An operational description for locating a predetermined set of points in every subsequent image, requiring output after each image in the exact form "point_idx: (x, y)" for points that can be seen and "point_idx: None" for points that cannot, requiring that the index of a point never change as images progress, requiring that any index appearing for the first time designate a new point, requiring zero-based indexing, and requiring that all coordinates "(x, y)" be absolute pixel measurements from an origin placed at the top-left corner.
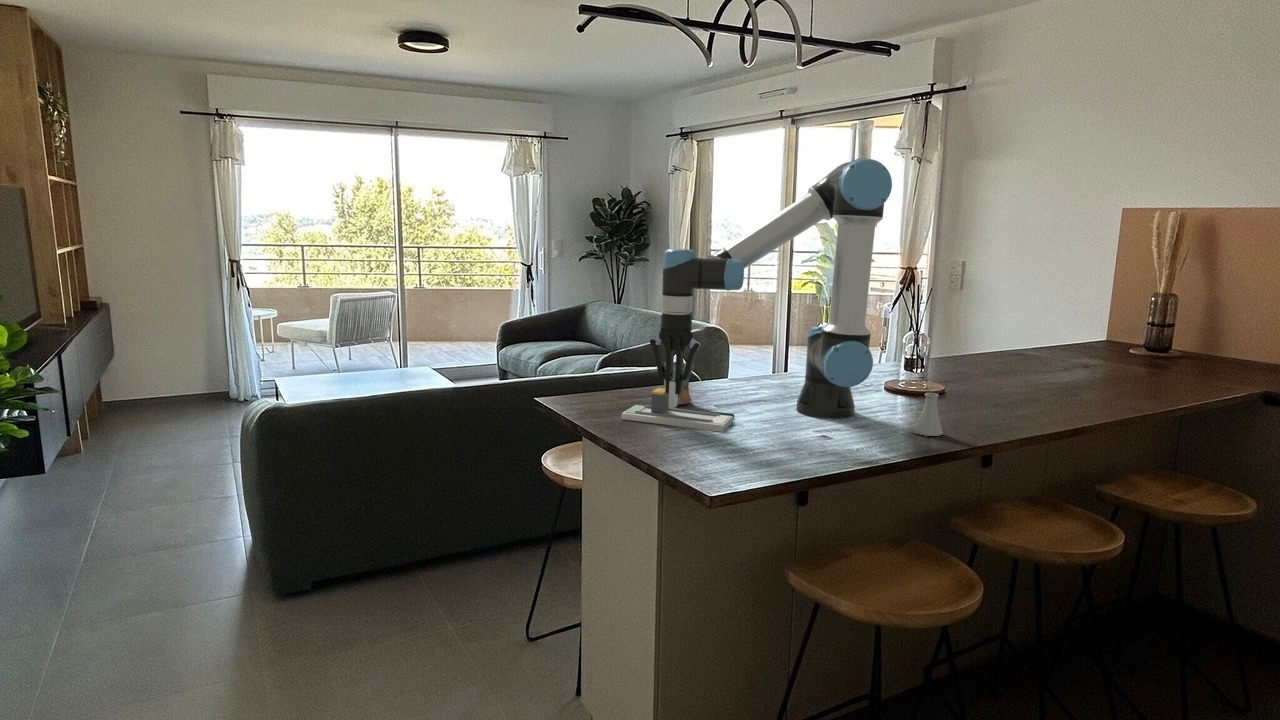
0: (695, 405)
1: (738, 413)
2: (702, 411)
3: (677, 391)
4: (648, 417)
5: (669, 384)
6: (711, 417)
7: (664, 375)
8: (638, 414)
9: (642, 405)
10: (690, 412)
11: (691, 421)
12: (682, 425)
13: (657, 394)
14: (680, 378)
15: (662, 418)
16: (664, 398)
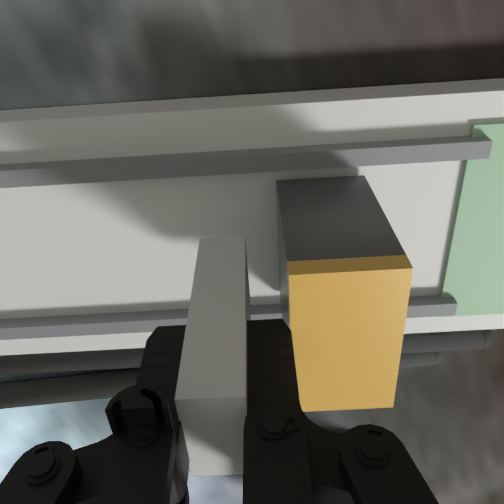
0: (241, 484)
1: (13, 461)
2: (123, 386)
3: (170, 344)
4: (359, 97)
5: (242, 370)
6: None
7: (328, 468)
8: (450, 118)
9: (474, 346)
10: (142, 314)
11: (19, 130)
12: (93, 107)
13: (346, 258)
14: (116, 464)
15: (244, 105)
16: (284, 272)
